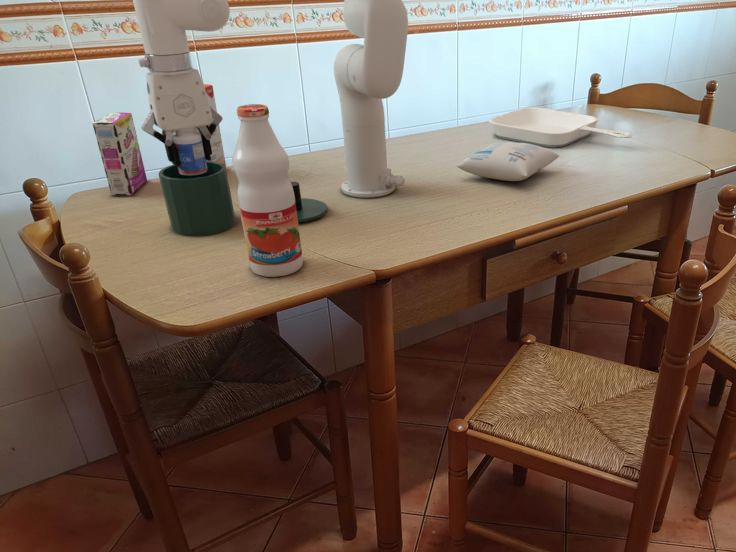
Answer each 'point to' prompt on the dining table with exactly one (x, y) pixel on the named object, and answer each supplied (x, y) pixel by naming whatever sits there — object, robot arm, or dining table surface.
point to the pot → (198, 200)
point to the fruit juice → (265, 196)
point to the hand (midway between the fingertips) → (191, 160)
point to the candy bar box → (120, 153)
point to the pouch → (508, 161)
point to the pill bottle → (190, 152)
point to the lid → (307, 206)
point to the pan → (547, 127)
